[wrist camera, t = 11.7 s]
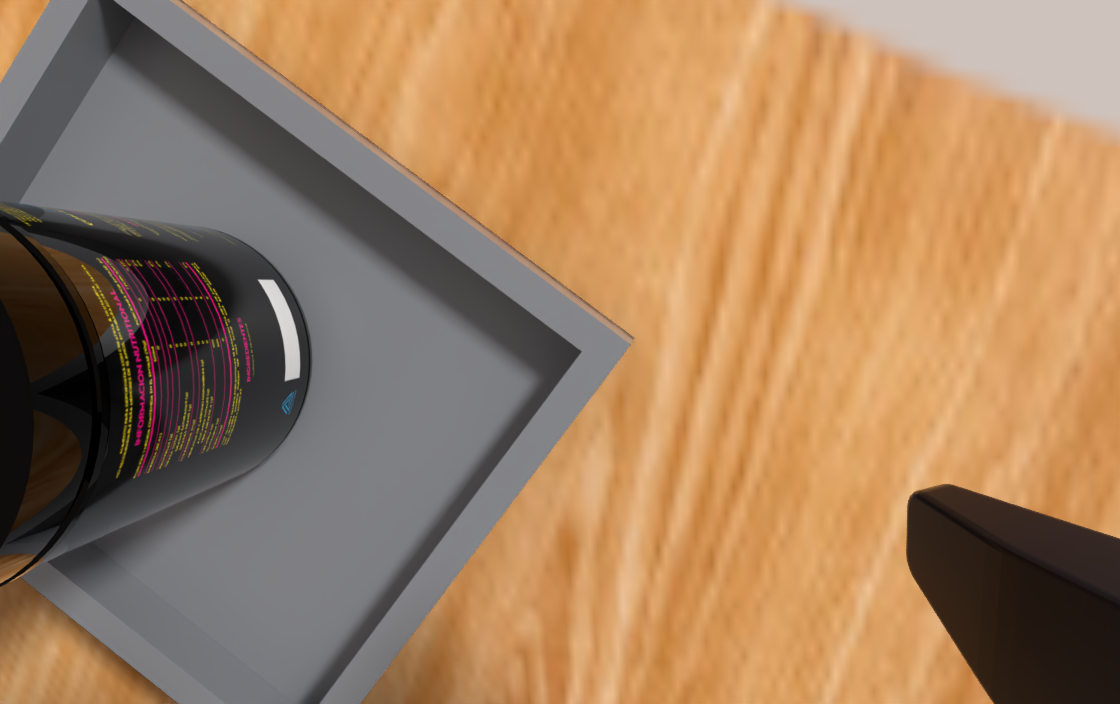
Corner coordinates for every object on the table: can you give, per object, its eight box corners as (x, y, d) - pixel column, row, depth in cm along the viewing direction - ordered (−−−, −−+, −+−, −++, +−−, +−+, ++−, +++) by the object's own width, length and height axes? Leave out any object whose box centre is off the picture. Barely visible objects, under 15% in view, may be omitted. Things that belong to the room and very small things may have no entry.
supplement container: (44, 279, 23) (-455, 275, 13) (268, 185, 22) (-76, 98, 12) (138, 514, 23) (-279, 697, 13) (363, 430, 22) (107, 555, 12)
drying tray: (634, 337, 22) (630, 344, 20) (330, 742, 24) (292, 794, 22) (149, -24, 23) (87, -62, 20) (-110, 393, 25) (-195, 405, 22)
